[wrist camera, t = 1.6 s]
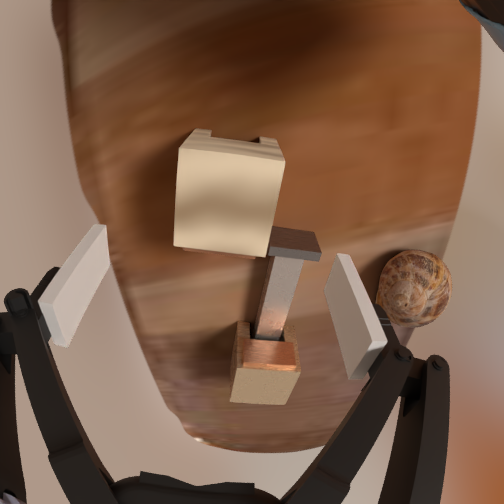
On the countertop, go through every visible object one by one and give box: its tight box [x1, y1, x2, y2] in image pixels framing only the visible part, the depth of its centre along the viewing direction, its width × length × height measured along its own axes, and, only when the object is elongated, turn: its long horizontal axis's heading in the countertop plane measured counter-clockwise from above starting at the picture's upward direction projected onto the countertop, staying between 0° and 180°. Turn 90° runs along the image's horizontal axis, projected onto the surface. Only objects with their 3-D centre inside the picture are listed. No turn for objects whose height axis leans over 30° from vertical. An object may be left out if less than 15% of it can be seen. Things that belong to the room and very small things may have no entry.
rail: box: [230, 226, 321, 405], centre depth 35 cm, size 23×7×8 cm, turn 171°
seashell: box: [376, 250, 452, 328], centre depth 34 cm, size 10×9×10 cm
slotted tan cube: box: [174, 128, 285, 259], centre depth 26 cm, size 9×7×8 cm
